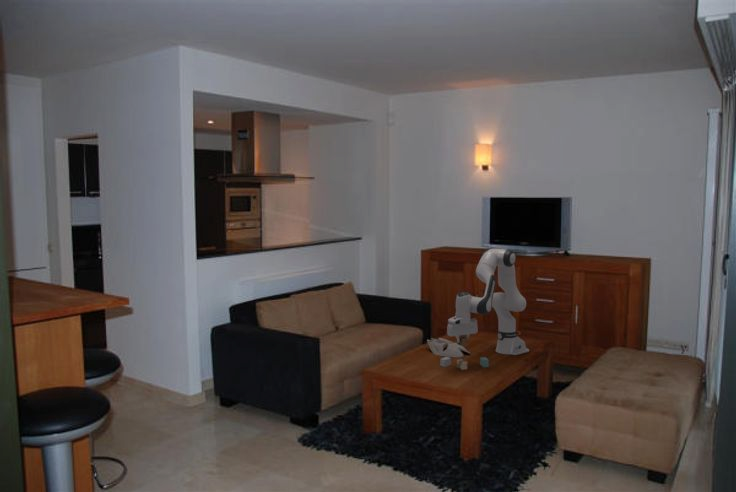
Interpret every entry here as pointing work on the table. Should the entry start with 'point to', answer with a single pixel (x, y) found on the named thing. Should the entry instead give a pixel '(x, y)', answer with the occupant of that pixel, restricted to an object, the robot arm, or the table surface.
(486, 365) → the teal block
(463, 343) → the walnut block
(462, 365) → the maple block
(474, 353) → the table surface
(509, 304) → the robot arm
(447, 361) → the grey block
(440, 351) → the mask
